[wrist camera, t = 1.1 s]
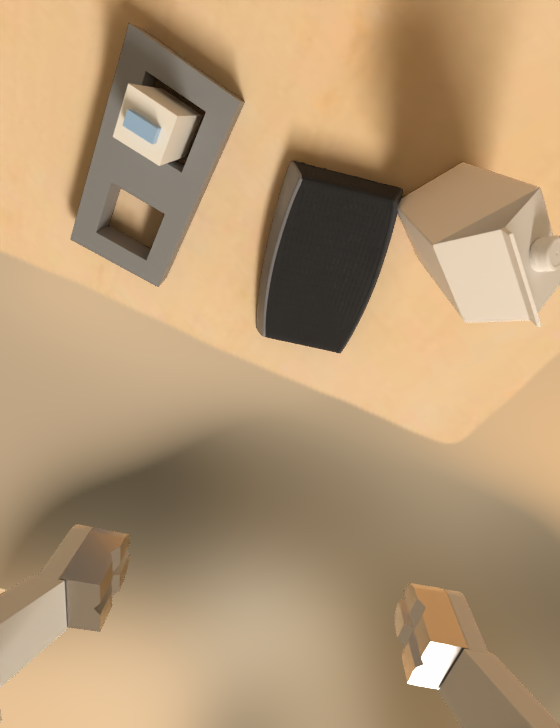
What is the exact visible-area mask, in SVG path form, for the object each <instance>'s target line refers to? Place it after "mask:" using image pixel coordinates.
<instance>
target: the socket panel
mask: <svg viewBox="0 0 560 728" xmlns="http://www.w3.org/2000/svg"><path fill="white" fill-rule="evenodd" d="M156 78H157V79H159V80H160V81H161V82H163V83H164V84H166V85H167V86H169V87H170V88H172V89H173V90H175V91H176V92H178V93H179V94H180V95H182V96H183V97H185V98H186V99H188V100H189V101H191V102H192V103H194V104H195V105H197V106H198V107H199V108H201V109H202V110H204V111H205V112H206V113H205V116H204V118H203V121H202V123H201V126H200V128H199V131H198V133H197V136H196V138H195V141H194V143H193V146H192V148H191V151H190V153H189V156H188V158H187V161H186V163H185V165H183V164H182V163H180V162H178V161H177V160H175V161H172V162H169V163H166V164H164V165H161V166H158V165H157V164H155V163H154V162H152V161H151V160H149V159H147V158H146V157H144V156H143V155H141V154H139V153H138V152H136V151H135V150H133V149H131V148H130V147H128V146H127V145H125V144H123V143H122V142H120V141H119V140H117V139H115V138H114V137H113V134H114V131H115V127H116V124H117V120H118V117H119V113H120V110H121V107H122V103H123V100H124V96H125V93H126V89H127V86H128V83H129V84H136V85H142V86H149V87H154V84H155V81H156ZM244 103H245V102H244V101H243V100H241V99H240V98H238V97H237V96H236V95H234V94H233V93H231V92H230V91H229V90H227V89H226V88H224V87H223V86H222V85H220V84H219V83H217V82H216V81H214V80H213V79H212V78H210V77H209V76H207V75H206V74H205V73H203V72H202V71H200V70H199V69H198V68H196V67H195V66H193V65H192V64H191V63H189V62H188V61H186V60H185V59H183V58H182V57H181V56H179V55H178V54H176V53H175V52H174V51H172V50H171V49H169V48H168V47H167V46H165V45H164V44H162V43H161V42H160V41H158V40H157V39H155V38H154V37H152V36H151V35H150V34H148V33H147V32H145V31H144V30H143V29H140V28H138V27H136V26H134V25H132V24H130V23H129V25H128V28H127V32H126V36H125V39H124V43H123V47H122V51H121V54H120V58H119V62H118V65H117V69H116V73H115V76H114V80H113V84H112V87H111V91H110V95H109V98H108V102H107V106H106V110H105V113H104V117H103V121H102V124H101V128H100V132H99V135H98V139H97V143H96V146H95V150H94V154H93V158H92V161H91V165H90V169H89V172H88V176H87V180H86V183H85V187H84V191H83V194H82V198H81V202H80V206H79V209H78V213H77V217H76V220H75V224H74V228H73V231H72V235H71V240H72V241H74V242H76V243H78V244H80V245H82V246H83V247H85V248H87V249H89V250H91V251H93V252H94V253H96V254H98V255H100V256H102V257H104V258H106V259H107V260H109V261H111V262H113V263H115V264H117V265H118V266H120V267H122V268H124V269H126V270H128V271H129V272H131V273H133V274H135V275H137V276H139V277H140V278H142V279H144V280H146V281H148V282H150V283H151V284H153V285H155V286H157V287H159V286H160V284H161V283H162V282H163V281H164V280H165V279H166V277H167V275H168V273H169V271H170V269H171V266H172V264H173V262H174V260H175V257H176V255H177V253H178V251H179V248H180V246H181V244H182V242H183V239H184V237H185V235H186V233H187V230H188V228H189V226H190V224H191V222H192V219H193V217H194V215H195V213H196V210H197V208H198V206H199V204H200V201H201V199H202V197H203V195H204V192H205V190H206V188H207V186H208V183H209V181H210V179H211V177H212V174H213V172H214V170H215V168H216V165H217V163H218V161H219V159H220V157H221V154H222V152H223V150H224V148H225V145H226V143H227V141H228V139H229V136H230V134H231V132H232V130H233V127H234V125H235V123H236V121H237V118H238V116H239V114H240V112H241V109H242V107H243V105H244ZM121 188H122V189H123V190H125V191H127V192H128V193H130V194H132V195H133V196H135V197H137V198H138V199H140V200H142V201H143V202H145V203H147V204H148V205H150V206H152V207H153V208H155V209H157V210H159V211H160V212H162V213H164V214H165V215H164V218H163V220H162V223H161V225H160V228H159V230H158V233H157V235H156V238H155V240H154V243H153V245H152V248H151V249H149V248H148V247H146V246H144V245H142V244H141V243H139V242H137V241H135V240H134V239H132V238H130V237H128V236H127V235H125V234H123V233H121V232H119V231H118V230H116V229H114V228H112V227H111V226H109V223H110V220H111V217H112V214H113V210H114V207H115V204H116V201H117V198H118V195H119V192H120V189H121Z"/></svg>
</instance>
